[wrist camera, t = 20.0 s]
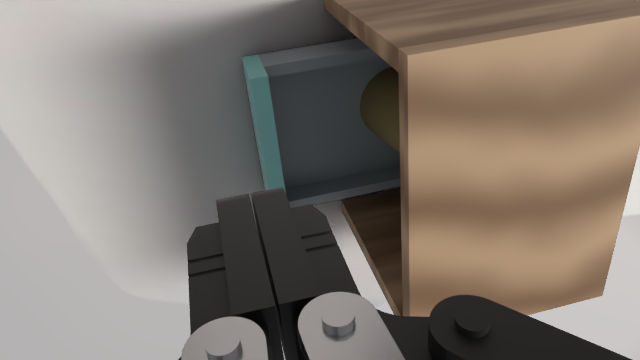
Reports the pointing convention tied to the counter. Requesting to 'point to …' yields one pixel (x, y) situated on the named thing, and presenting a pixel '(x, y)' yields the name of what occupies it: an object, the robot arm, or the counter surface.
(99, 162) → the counter surface
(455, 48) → the wooden drawer cabinet
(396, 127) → the olive pawn figure
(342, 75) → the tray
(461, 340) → the robot arm
